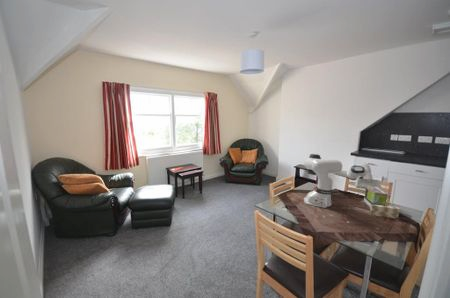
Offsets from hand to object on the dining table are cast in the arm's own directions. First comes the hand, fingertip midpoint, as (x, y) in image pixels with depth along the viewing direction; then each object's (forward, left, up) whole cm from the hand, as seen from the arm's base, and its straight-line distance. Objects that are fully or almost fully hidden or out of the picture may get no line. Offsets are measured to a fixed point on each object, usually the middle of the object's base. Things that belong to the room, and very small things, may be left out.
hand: (369, 193), depth 186 cm
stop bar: (0, -29, -6) cm, 30 cm away
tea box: (0, -12, -6) cm, 14 cm away
